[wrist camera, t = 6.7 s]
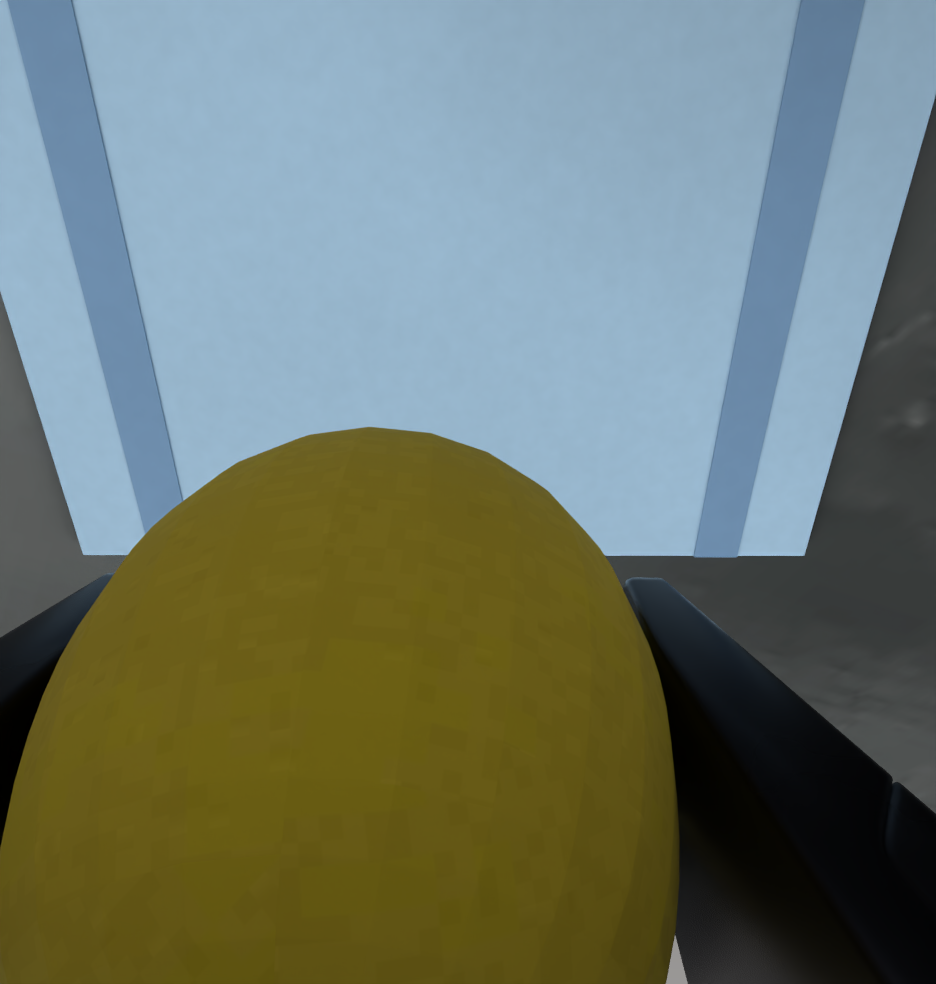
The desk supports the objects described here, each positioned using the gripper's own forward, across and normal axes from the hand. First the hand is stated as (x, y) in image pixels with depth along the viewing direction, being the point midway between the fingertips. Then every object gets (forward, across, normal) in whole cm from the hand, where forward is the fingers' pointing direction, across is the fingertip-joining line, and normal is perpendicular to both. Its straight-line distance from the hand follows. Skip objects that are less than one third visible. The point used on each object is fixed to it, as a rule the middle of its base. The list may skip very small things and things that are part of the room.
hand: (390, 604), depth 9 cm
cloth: (+10, 0, 0) cm, 11 cm away
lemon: (+2, 0, 0) cm, 2 cm away
